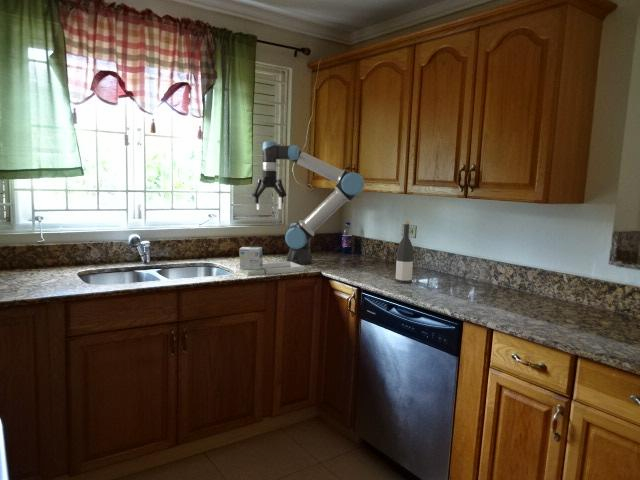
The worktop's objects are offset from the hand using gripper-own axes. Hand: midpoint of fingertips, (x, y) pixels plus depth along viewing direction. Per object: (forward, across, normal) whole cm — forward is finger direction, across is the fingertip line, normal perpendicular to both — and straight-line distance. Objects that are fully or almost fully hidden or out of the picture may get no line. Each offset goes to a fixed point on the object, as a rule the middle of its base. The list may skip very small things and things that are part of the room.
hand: (269, 209), depth 270 cm
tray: (+31, +2, +14) cm, 34 cm away
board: (+31, +18, +14) cm, 39 cm away
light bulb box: (+29, +18, +14) cm, 37 cm away
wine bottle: (+33, -38, +67) cm, 84 cm away
